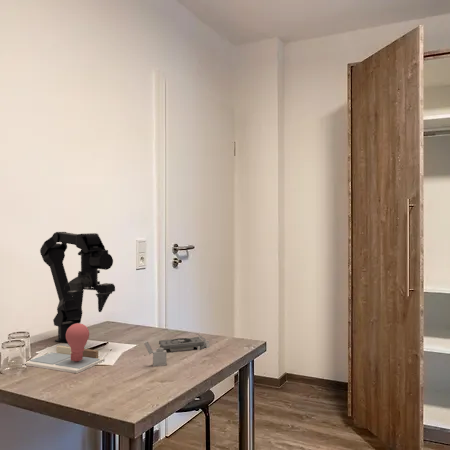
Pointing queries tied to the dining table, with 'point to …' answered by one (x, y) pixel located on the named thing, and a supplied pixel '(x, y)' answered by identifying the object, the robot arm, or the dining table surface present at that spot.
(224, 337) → the dining table surface
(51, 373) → the dining table surface
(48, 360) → the board
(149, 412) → the dining table surface
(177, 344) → the graphics card
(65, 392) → the dining table surface
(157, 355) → the lighter
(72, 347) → the light bulb
